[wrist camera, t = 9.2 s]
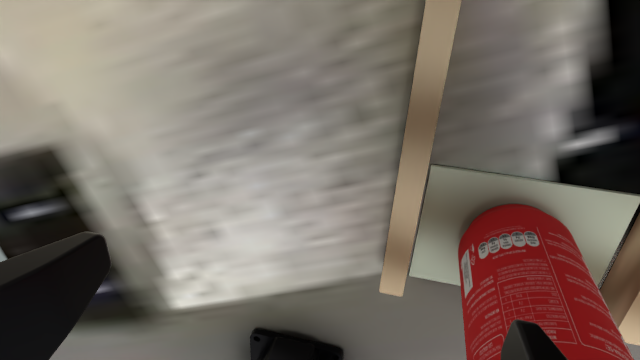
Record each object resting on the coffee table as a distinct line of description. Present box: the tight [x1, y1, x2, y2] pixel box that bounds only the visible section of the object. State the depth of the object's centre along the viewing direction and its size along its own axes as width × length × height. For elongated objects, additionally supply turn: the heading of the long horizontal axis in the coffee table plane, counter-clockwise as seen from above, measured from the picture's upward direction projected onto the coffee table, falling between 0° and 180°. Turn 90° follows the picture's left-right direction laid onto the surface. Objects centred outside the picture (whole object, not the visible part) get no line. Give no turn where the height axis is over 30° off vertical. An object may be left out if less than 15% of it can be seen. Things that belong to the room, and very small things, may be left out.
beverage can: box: [458, 203, 634, 360], centre depth 16 cm, size 5×5×12 cm
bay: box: [379, 0, 640, 345], centre depth 16 cm, size 20×12×4 cm, turn 177°
